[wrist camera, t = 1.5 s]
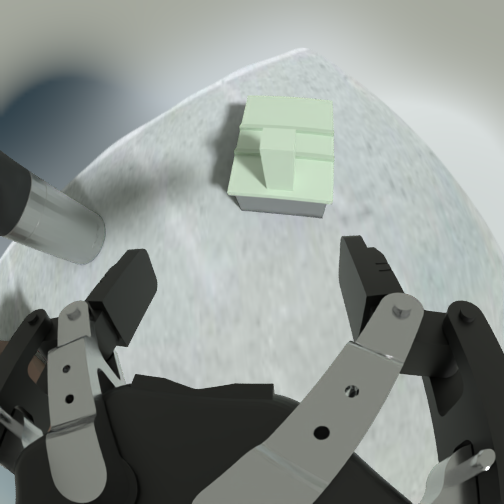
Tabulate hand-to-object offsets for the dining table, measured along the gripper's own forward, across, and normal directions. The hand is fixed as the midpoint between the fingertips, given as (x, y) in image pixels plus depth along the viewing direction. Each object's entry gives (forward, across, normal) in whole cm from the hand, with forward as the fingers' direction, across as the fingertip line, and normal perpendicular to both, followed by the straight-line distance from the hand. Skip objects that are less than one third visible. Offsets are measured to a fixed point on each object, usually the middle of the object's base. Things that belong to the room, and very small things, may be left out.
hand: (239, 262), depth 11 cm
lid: (+26, -3, -1) cm, 26 cm away
